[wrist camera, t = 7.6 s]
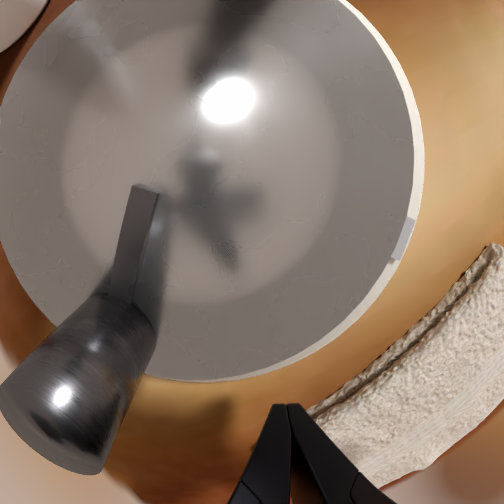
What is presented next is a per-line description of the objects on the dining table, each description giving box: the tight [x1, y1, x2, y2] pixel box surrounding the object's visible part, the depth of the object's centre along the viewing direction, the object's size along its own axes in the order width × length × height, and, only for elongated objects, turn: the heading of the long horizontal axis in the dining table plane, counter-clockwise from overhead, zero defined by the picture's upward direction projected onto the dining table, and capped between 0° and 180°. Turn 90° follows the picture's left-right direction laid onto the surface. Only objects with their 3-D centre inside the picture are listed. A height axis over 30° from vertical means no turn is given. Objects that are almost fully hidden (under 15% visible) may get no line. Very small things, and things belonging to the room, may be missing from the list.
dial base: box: [150, 0, 424, 383], centre depth 10 cm, size 18×18×2 cm
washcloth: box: [305, 242, 504, 489], centre depth 13 cm, size 12×18×3 cm, turn 135°
